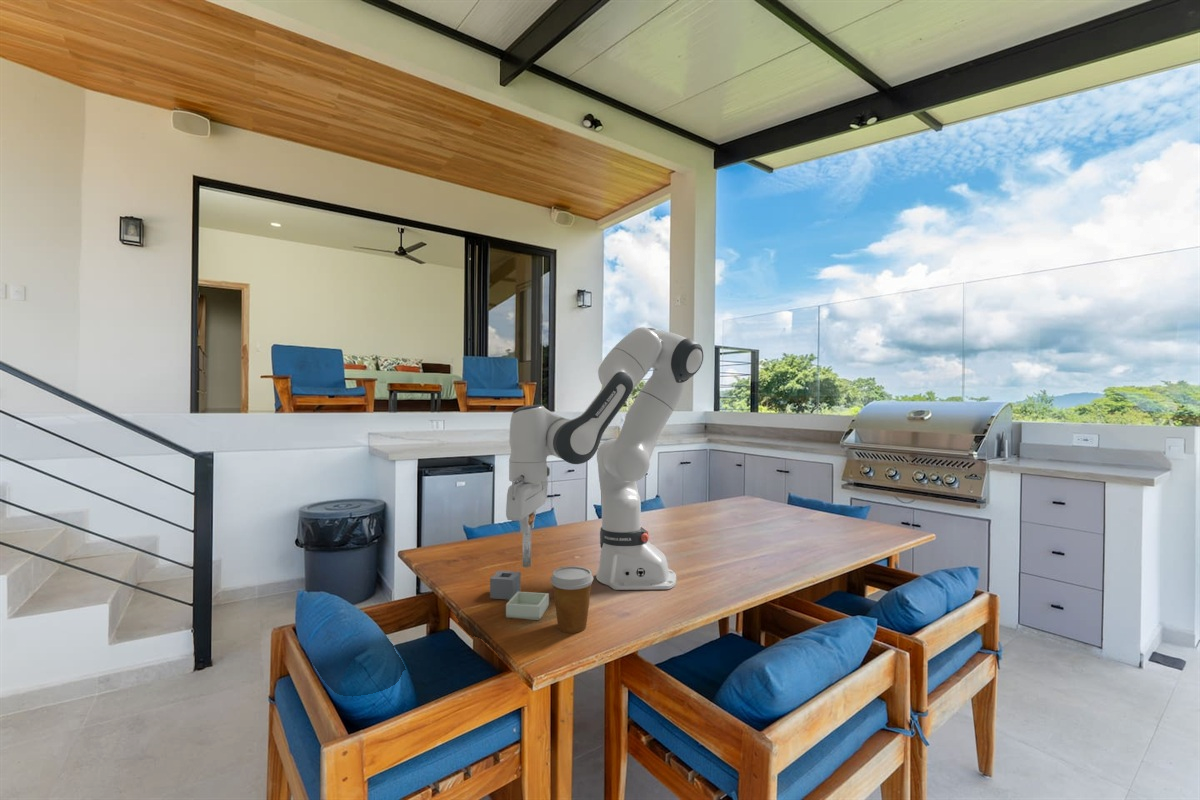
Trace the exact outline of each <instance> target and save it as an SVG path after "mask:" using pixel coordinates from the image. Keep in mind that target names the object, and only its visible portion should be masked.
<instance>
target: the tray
mask: <svg viewBox="0 0 1200 800" xmlns="http://www.w3.org/2000/svg"><path fill="white" fill-rule="evenodd" d="M548 607H550V593H548V592H547V593H546V592H534V591H533V592H531V591H530V592H529V591H520V592H519V591H517V593H516V594H515V595H514V596H513V597H512V598H511V599H510V600H508V601H507V602H506V604H505V618H510V619H511V618H512V619H521V620H522V619H523V620H534V621H536V620H537V621H540V620H541V618H542V617H543V615H544V614H545V612H546V610H547V609H548Z"/></svg>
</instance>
